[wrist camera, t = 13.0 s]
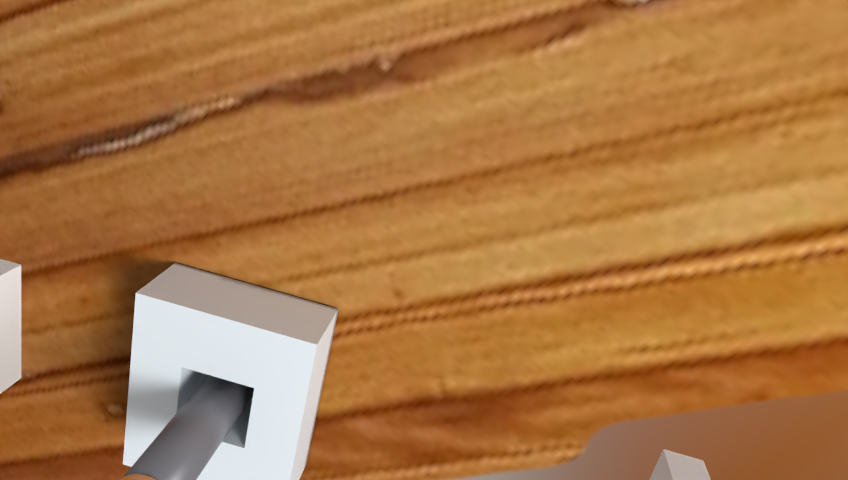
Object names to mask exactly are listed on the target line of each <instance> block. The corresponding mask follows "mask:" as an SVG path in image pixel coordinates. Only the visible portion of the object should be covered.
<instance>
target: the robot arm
mask: <svg viewBox="0 0 848 480" xmlns="http://www.w3.org/2000/svg"><path fill="white" fill-rule="evenodd" d="M20 378H21V265H20V264H16V263H13V262H9V261H6V260H2V259H0V393H2V392H3V391H4V390H6V389H7V388H8V387H10V386H11V385H12V384H14V383H15V382H16V381H18V380H19V379H20ZM649 480H710V477H709V474H708V472H707V469H706V466H705V464H704V461H703V460H700V459H696V458H692V457H689V456H686V455H682V454H679V453H675V452H672V451H668V450H665V449H664V450H663V452H662V454H661V456H660V458H659V460H658V462H657V465H656V467H655V469H654V471H653V473H652V475H651V477H650V479H649Z"/></svg>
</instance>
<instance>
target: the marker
mask: <svg viewBox="0 0 848 480" xmlns="http://www.w3.org/2000/svg"><path fill="white" fill-rule="evenodd" d="M253 392H254V388H252V387H248V386H245V385H241V384H238V383H235V382H231V381H228V380H224V379H221V378H217V377H214V376H211V375H208V376H207V377H206V379H205V380H204V381H203V382H202V383H201V384H200V386H199V387H198V388H197V389H196V390H195V392H194V393H193V394H192V395H191V396H190V398H189V399H188V400H187V401H186V402H185V404H184V405H183V406H182V407H181V408H180V410H179V411H178V412H177V413H176V414H175V416H174V417H173V418H172V419H171V420H170V422H169V423H168V424H167V425H166V426H165V428H164V429H163V430H162V431H161V432H160V434H159V435H158V436H157V437H156V438H155V439H154V441H153V442H152V443H151V444H150V445H149V447H148V448H147V449H146V450H145V451H144V453H143V454H142V455H141V456H140V457H139V459H138V460H137V461H136V462H135V463H134V465H133V466H132V467H131V468H130V469H129V471H128V472H127V473H126V474H125V475H124V477H123V478H121V479H120V480H196V479H197V478H198V476H199V475H200V474H201V472H202V471H203V469H204V468H205V466H206V465H207V463H208V462H209V460H210V459H211V457H212V456H213V454H214V453H215V451H216V450H217V449H218V447H219V446H220V444H221V443H222V441H223V440H224V438H225V437H226V435H227V434H228V432H229V431H230V429H231V428H232V426H233V425H234V423H235V422H236V421H237V419H238V418H239V416H240V415H241V413H242V412H243V410H244V409H245V407H246V406H247V404H248V403H249V401H250V400H251V398H252V397H253Z"/></svg>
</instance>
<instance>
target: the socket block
mask: <svg viewBox="0 0 848 480" xmlns="http://www.w3.org/2000/svg"><path fill="white" fill-rule="evenodd" d="M337 314H338V309H336V308H333V307H329V306H326V305H322V304H319V303H315V302H312V301H308V300H305V299H301V298H297V297H294V296H290V295H287V294H283V293H280V292H276V291H273V290H269V289H266V288H262V287H259V286H255V285H252V284H248V283H244V282H241V281H237V280H234V279H230V278H227V277H223V276H220V275H216V274H213V273H209V272H206V271H202V270H199V269H195V268H191V267H188V266H184V265H181V264H177V263H174V264H173V265H172V266H170V267H169V268H168V269H166V270H165V271H164V272H163V273H161V274H160V275H159V276H157V277H156V278H155V279H153V280H152V281H151V282H149V283H148V284H147V285H145V286H144V287H143V288H141V289H140V290H139V291H137V292H136V295H135V309H134V322H133V336H132V349H131V363H130V376H129V389H128V403H127V416H126V430H125V443H124V457H123V464H124V465H127V466H131V467H132V466H133V465H134V463H135V462H136V461H137V460H138V459H139V457H140V456H141V455H142V454H143V453H144V451H145V450H146V449H147V448H148V447H149V445H150V444H151V443H152V442H153V441H154V439H155V438H156V437H157V436H158V435H159V434H160V432H161V431H162V430H163V429H164V428H165V426H166V425H167V424H168V423H169V422H170V420H171V419H172V418H173V417H174V416H175V414H176V413H177V412H178V411H179V410H180V408H181V407H182V406H183V405H184V404H185V402H186V401H187V400H188V399H189V398H190V396H191V395H192V394H193V393H194V392H195V390H196V389H197V388H198V387H199V386H200V384H201V383H202V382H203V381H204V380H205V379H206V377H207V376H208V375H211V376H214V377H217V378H221V379H224V380H228V381H231V382H235V383H238V384H241V385H245V386H248V387H252V388H254V392H253V397H252V398H251V400H250V401H249V403H248V404H247V406H246V407H245V409H244V410H243V412H242V413H241V415H240V416H239V418H238V419H237V421H236V422H235V423H234V425H233V426H232V428H231V429H230V431H229V432H228V434H227V435H226V437H225V438H224V440H223V441H222V443H221V444H220V446H219V447H218V449H217V450H216V451H215V453H214V454H213V456H212V457H211V459H210V460H209V462H208V463H207V465H206V466H205V468H204V469H203V471H202V472H201V474H200V475H199V476H198V478H197V479H196V480H299V479H300V477H301V474H302V472H303V470H304V468H305V466H306V462H307V457H308V452H309V448H310V443H311V438H312V433H313V429H314V424H315V419H316V414H317V409H318V405H319V400H320V395H321V390H322V386H323V381H324V376H325V371H326V366H327V362H328V357H329V352H330V347H331V343H332V338H333V333H334V328H335V323H336V319H337Z"/></svg>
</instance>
